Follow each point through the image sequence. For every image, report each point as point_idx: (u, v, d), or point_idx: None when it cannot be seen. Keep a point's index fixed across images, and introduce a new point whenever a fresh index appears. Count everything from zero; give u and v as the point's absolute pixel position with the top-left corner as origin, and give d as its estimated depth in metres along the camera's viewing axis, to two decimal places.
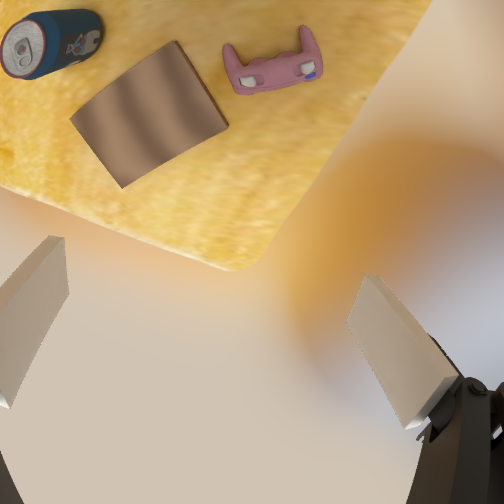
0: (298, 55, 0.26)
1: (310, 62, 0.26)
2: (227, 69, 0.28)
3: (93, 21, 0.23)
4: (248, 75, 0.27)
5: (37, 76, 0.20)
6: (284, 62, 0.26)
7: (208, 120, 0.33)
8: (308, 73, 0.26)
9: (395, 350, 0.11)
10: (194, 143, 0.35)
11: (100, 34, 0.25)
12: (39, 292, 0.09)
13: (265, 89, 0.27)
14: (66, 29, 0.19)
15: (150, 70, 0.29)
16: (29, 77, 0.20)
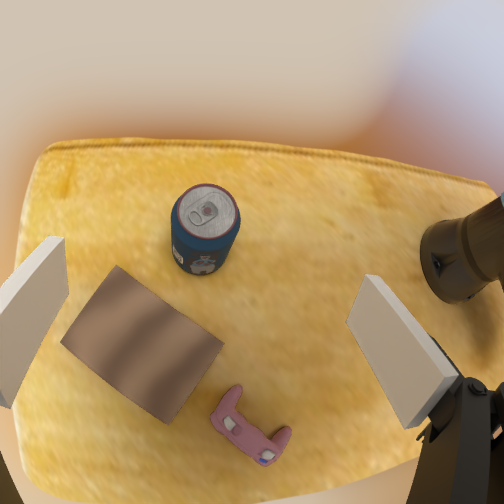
0: (272, 443, 0.30)
1: (274, 454, 0.29)
2: (225, 400, 0.32)
3: (221, 263, 0.38)
4: (234, 420, 0.30)
5: (178, 234, 0.30)
6: (262, 438, 0.30)
7: (167, 406, 0.32)
8: (264, 458, 0.29)
9: (395, 350, 0.11)
10: (138, 402, 0.31)
11: (208, 273, 0.38)
12: (39, 292, 0.09)
13: (231, 439, 0.29)
14: (225, 249, 0.32)
15: (189, 335, 0.35)
16: (176, 225, 0.29)
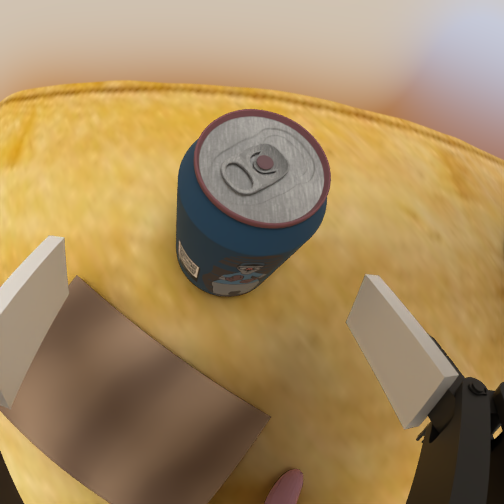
0: None
1: None
2: (279, 503, 0.16)
3: None
4: None
5: (194, 215, 0.13)
6: None
7: None
8: None
9: (395, 350, 0.11)
10: None
11: (242, 293, 0.21)
12: (39, 292, 0.09)
13: None
14: (294, 252, 0.15)
15: (209, 407, 0.18)
16: (190, 194, 0.12)
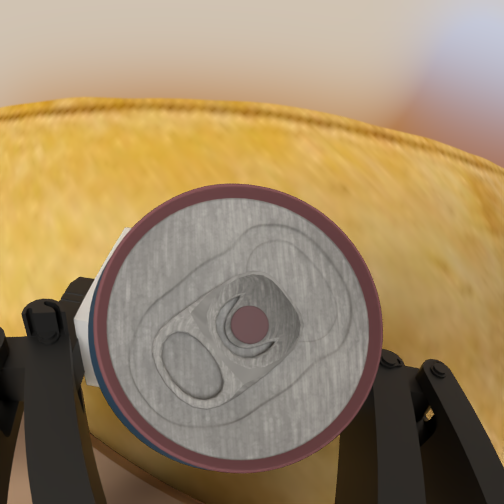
0: None
1: None
2: None
3: None
4: None
5: (119, 416, 0.06)
6: None
7: None
8: None
9: None
10: None
11: None
12: None
13: None
14: None
15: None
16: (105, 385, 0.06)
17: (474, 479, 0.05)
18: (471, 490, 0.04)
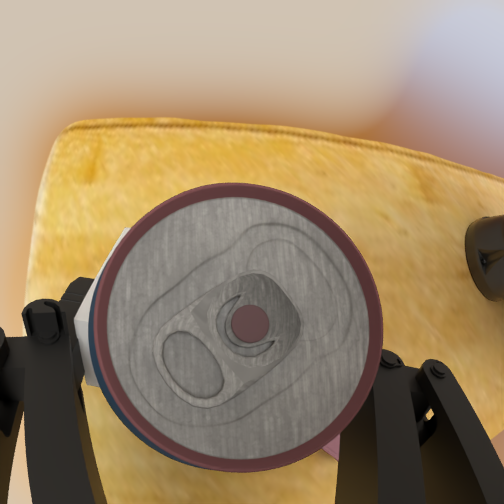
0: None
1: None
2: None
3: None
4: None
5: (119, 415, 0.06)
6: None
7: None
8: None
9: None
10: None
11: None
12: None
13: None
14: None
15: None
16: (105, 384, 0.06)
17: (474, 479, 0.05)
18: (471, 490, 0.04)
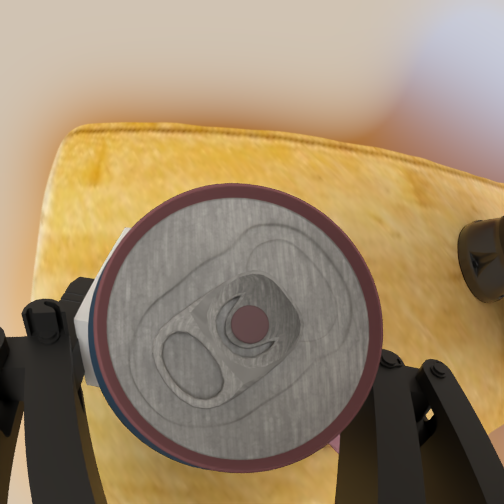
0: None
1: None
2: None
3: None
4: None
5: (119, 416, 0.06)
6: None
7: None
8: None
9: None
10: None
11: None
12: None
13: None
14: None
15: None
16: (105, 384, 0.06)
17: (474, 479, 0.05)
18: (471, 490, 0.04)
